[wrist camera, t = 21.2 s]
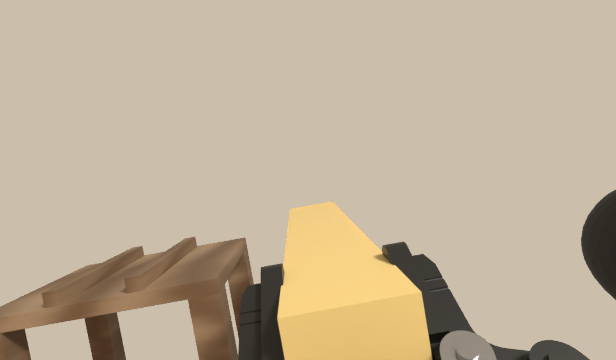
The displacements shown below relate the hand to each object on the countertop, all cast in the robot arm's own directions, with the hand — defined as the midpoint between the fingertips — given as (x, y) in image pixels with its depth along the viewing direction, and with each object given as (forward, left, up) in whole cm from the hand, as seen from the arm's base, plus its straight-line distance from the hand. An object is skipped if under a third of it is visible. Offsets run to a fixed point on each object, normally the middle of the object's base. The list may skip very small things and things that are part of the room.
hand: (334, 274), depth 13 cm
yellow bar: (0, -7, -3) cm, 8 cm away
